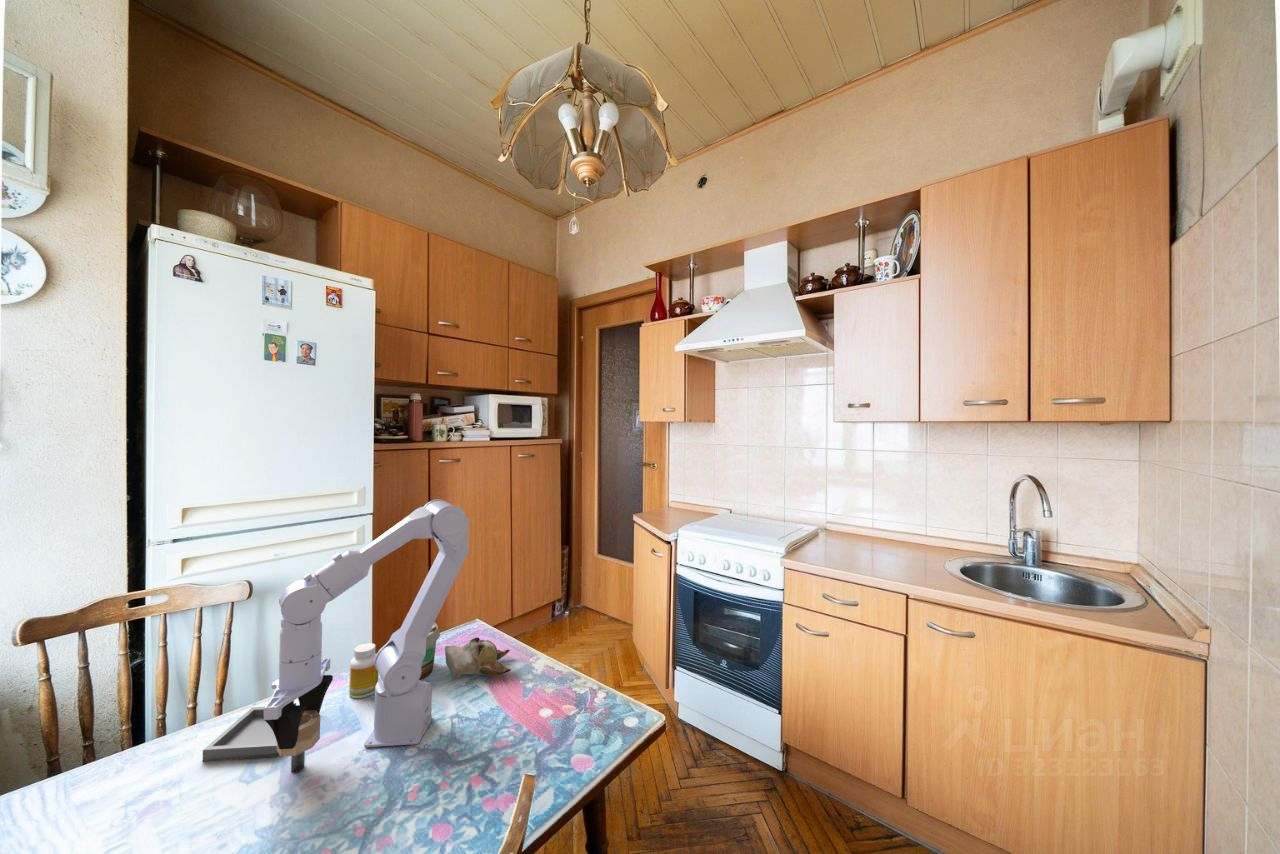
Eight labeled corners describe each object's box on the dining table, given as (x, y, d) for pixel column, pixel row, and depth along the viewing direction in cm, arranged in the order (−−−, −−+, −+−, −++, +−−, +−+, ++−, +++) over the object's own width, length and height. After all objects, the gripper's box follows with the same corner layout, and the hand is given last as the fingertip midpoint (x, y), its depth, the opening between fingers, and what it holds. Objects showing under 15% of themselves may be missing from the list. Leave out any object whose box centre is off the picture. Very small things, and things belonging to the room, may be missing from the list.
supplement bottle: (380, 693, 97) (381, 648, 97) (351, 702, 94) (352, 656, 94) (375, 681, 101) (376, 639, 101) (347, 690, 98) (348, 646, 98)
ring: (325, 732, 78) (325, 709, 78) (306, 754, 73) (306, 730, 73) (291, 734, 78) (292, 711, 78) (270, 757, 72) (270, 732, 72)
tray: (315, 714, 89) (316, 704, 89) (276, 757, 78) (277, 745, 78) (252, 717, 88) (252, 707, 88) (202, 761, 76) (202, 749, 76)
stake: (307, 764, 76) (308, 731, 76) (301, 772, 75) (302, 739, 75) (293, 765, 76) (294, 732, 76) (287, 773, 74) (288, 739, 74)
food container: (415, 691, 98) (416, 646, 98) (390, 687, 99) (392, 642, 99) (449, 662, 110) (451, 622, 110) (427, 659, 111) (428, 619, 111)
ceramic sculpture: (448, 629, 109) (511, 626, 114) (444, 664, 109) (508, 660, 113) (443, 650, 99) (513, 646, 103) (439, 690, 99) (509, 684, 103)
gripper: (301, 635, 82) (299, 708, 82) (242, 679, 68) (240, 769, 68) (343, 633, 83) (341, 706, 83) (293, 677, 69) (290, 765, 69)
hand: (298, 734), depth 75 cm, fingers closed on ring, 5 cm apart
